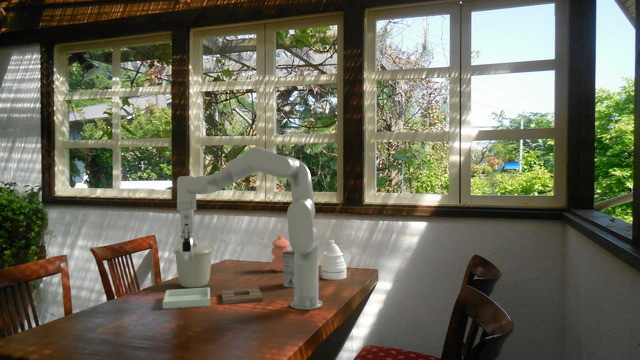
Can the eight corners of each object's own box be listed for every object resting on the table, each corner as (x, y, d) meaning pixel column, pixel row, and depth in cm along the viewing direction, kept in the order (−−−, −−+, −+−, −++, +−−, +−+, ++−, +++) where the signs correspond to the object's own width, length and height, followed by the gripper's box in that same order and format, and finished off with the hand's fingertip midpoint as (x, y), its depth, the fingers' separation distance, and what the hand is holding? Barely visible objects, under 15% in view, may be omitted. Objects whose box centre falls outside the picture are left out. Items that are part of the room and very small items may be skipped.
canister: (203, 291, 204) (203, 244, 204) (166, 289, 208) (166, 243, 208) (220, 281, 222) (219, 238, 222) (185, 279, 226) (185, 237, 225)
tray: (210, 306, 182) (210, 298, 182) (162, 309, 178) (162, 301, 177) (209, 294, 199) (209, 287, 199) (166, 297, 195) (166, 290, 195)
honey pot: (316, 275, 235) (316, 240, 235) (339, 272, 241) (339, 238, 241) (328, 280, 224) (327, 244, 223) (350, 278, 229) (350, 242, 229)
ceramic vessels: (329, 278, 228) (329, 241, 228) (293, 284, 216) (293, 245, 216) (292, 266, 257) (292, 233, 256) (259, 271, 245) (258, 236, 244)
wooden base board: (262, 301, 188) (262, 296, 188) (223, 304, 184) (223, 299, 184) (258, 291, 204) (258, 287, 203) (221, 294, 200) (221, 289, 200)
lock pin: (193, 260, 186) (192, 235, 186) (180, 260, 185) (180, 236, 185) (193, 257, 191) (193, 234, 191) (180, 258, 190) (180, 234, 190)
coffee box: (293, 282, 221) (293, 249, 221) (304, 283, 218) (304, 250, 218) (283, 286, 213) (282, 252, 212) (294, 288, 210) (294, 253, 209)
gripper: (195, 207, 180) (195, 253, 181) (196, 204, 197) (196, 246, 197) (175, 208, 178) (176, 254, 179) (178, 204, 195) (178, 247, 195)
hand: (186, 249), depth 188 cm, fingers closed on lock pin, 5 cm apart
